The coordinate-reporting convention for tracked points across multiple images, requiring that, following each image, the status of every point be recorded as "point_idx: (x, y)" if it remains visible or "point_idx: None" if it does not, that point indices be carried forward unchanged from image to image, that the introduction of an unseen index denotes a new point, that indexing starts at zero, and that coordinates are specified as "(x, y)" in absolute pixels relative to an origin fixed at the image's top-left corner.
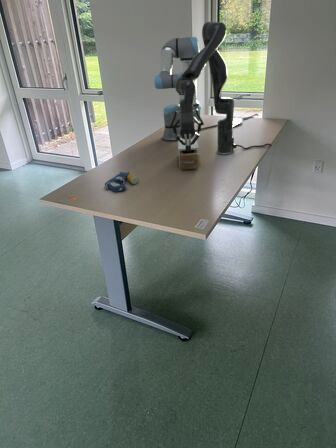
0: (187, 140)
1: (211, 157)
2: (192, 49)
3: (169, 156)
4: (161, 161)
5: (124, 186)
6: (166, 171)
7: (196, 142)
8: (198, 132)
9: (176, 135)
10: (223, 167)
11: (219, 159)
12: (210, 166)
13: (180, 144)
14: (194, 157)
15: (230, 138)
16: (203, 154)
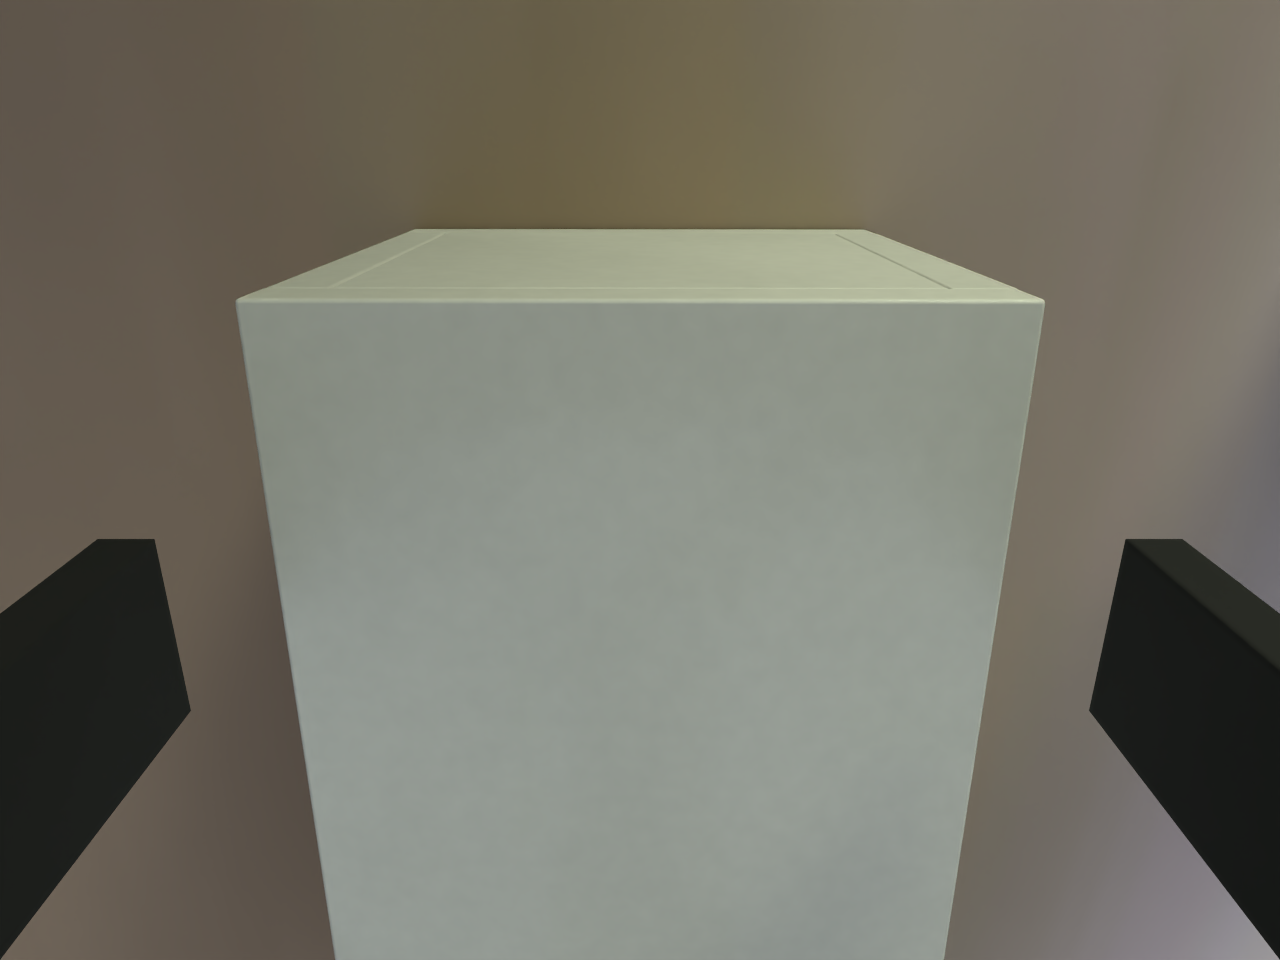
0: (634, 541)
1: (1151, 458)
2: None
3: (160, 205)
4: (41, 501)
5: None
6: (255, 950)
7: (936, 807)
8: (1240, 873)
9: (96, 820)
10: (1210, 936)
11: (1275, 596)
12: (1012, 872)
13: (396, 881)
14: None
15: None
16: (1020, 224)
